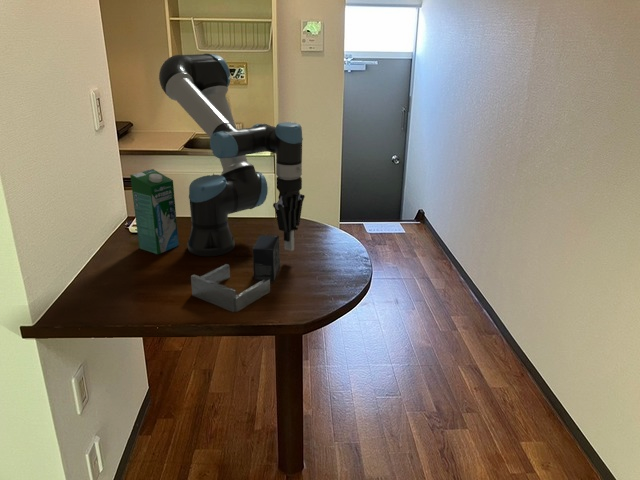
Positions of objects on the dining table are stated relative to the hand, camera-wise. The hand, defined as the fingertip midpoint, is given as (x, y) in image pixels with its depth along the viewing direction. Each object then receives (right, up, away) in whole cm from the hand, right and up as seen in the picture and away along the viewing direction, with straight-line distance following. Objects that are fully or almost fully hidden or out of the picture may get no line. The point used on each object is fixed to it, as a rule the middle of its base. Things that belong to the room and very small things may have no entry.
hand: (289, 249), depth 165 cm
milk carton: (-44, 0, +9) cm, 45 cm away
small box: (-6, -7, -7) cm, 12 cm away
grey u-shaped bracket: (-15, -12, -19) cm, 26 cm away
